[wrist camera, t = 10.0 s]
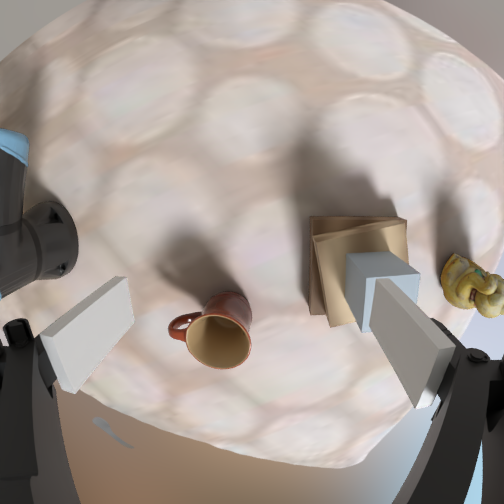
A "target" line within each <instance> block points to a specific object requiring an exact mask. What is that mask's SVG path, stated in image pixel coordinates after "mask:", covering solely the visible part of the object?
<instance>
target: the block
mask: <svg viewBox="0 0 504 504" xmlns="http://www.w3.org/2000/svg"><path fill="white" fill-rule="evenodd" d="M380 278H389V279H390V280H391V281H392V282H394V283H395V284H396V285H397V286H398V287H399V288H400V289H401V290H402V291H403V292H404V293H405V294H406V295H407V296H408V297H409V298H410V299H411V300H412V301H413V302H414V303H415V304H417V297H418V290H419V282H420V273H419V272H418V271H416V270H415V269H414V268H412V267H411V266H410V265H408V264H407V263H406V262H404V261H403V260H401V259H400V258H399V257H397V256H396V255H395V254H393V253H392V252H390V251H384V252H365V253H346V280H345V300H346V302H347V304H348V306H349V308H350V310H351V312H352V314H353V316H354V318H355V320H356V322H357V324H358V326H359V328H360V330H361V332H362V333H366V332H372V330H371V329H370V327H369V321H370V316H371V310H372V303H373V297H374V290H375V282H376V279H380Z"/></svg>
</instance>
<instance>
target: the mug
mask: <svg viewBox="0 0 504 504" xmlns="http://www.w3.org/2000/svg"><path fill="white" fill-rule="evenodd" d="M251 322H252V311H251V308H250V305H249V303H248V301H247V300H246V299H245V298H244V297H243V296H241V295H240V294H238V293H235V292H230V291H225V292H221V293H218V294H216V295H215V296H213V297H212V298H211V299H210V300H209V301H208V302H207V304H206V305H205V308H204V309H203V311H202V312H195V313H190V314H185V315H181V316H179V317H177V318H175V319H174V320H172V321H171V323H170V324H169V326H168V332H169V335H170V336H171V337H172V338H174V339H177V340H181V341H184V342H186V345H187V348H188V350H189V352H190V353H191V354H192V355H193V356H194V357H195V358H196V359H197V360H198V361H199V362H201V363H202V364H204V365H206V366H209V367H212V368H216V369H230V368H234V367H236V366H238V365H240V364H242V363H243V362H244V361H245V360H246V359H247V357H248V356H249V354H250V351H251V339H250V336H249V333H248V332H249V329H250V325H251ZM187 323H190V324H189V326H188V327H187V328H185V329H177V328H179V327H180V326H181V325H183V324H187Z"/></svg>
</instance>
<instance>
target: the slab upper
mask: <svg viewBox="0 0 504 504" xmlns="http://www.w3.org/2000/svg"><path fill="white" fill-rule="evenodd" d="M313 241H314V247H315V252H316V257H317V263H318V268H319V274H320V280H321V285H322V291H323V298H324V304H325V310H326V316H327V319H328V322H329V325H330V328H331V327H335V326H340V325H344V324H348V323H353V322H356V320H355V318H354V316H353V314H352V312H351V310H350V308H349V306H348V304H347V302H346V300H345V280H346V253H365V252H384V251H390V252H392V253H393V254H395V255H396V256H397V257H399V258H400V259H401V260H403V261H404V262H406V263H407V264H408V265H409V261H408V248H407V238H406V228H405V223H403V222H400V221H398V220H395V219H390V220H385V221H380V222H376V223H371V224H366V225H362V226H357V227H352V228H347V229H343V230H338V231H333V232H329V233H324V234H319V235H315V236H313Z"/></svg>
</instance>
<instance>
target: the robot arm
mask: <svg viewBox="0 0 504 504" xmlns="http://www.w3.org/2000/svg"><path fill="white" fill-rule="evenodd" d="M28 153H29V140H28V138H27V137H26V136H25V135H24V134H21V133H18V132H15V131H11V130H7V129H2V128H0V300H1V299H2V298H4V297H6V296H7V295H9V294H11V293H13V292H14V291H16V290H18V289H20V288H22V287H24V286H25V285H27V284H29V283H31V282H33V281H35V280H49V279H58V278H61V277H63V276H64V275H66V274H68V273H69V272H70V271H71V270H72V269H73V267H74V266H75V263H76V261H77V257H78V236H77V231H76V228H75V225H74V222H73V220H72V218H71V216H70V215H69V213H68V212H67V211H66V209H65V208H64V207H63V206H61V205H60V204H58V203H56V202H52V201H49V202H43V203H39V204H37V205H35V206H34V207H32V208H31V209H30V210H28V211H27V212H26V213H24V214H23V199H24V188H25V179H26V171H27V167H28V162H27V161H28ZM134 322H135V320H134V315H133V310H132V305H131V299H130V294H129V288H128V282H127V277H118V276H115V277H114V278H112V279H111V280H110V281H108V282H107V283H105V284H104V285H103V286H101V287H100V288H99V289H97V290H96V291H94V292H93V293H92V294H90V295H89V296H88V297H86V298H85V299H84V300H82V301H81V302H80V303H78V304H77V305H76V306H74V307H73V308H72V309H71V310H69V311H68V312H67V313H65V314H64V315H63V316H61V317H60V318H59V319H58V320H56V321H55V322H54V323H52V324H51V325H50V326H49V327H47V328H46V329H45V330H44V331H42V332H41V333H40V334H39V335H38V336H36V337H35V338H34V337H33V334H32V331H31V328H30V325H29V322H28V320H27V319H23V318H20V319H15V320H12V321H10V322H8V323H7V324H5V325H4V327H3V331H4V333H5V336H6V339H7V341H8V344H9V346H3V345H2V342H1V339H0V504H81V503H80V500H79V497H78V494H77V492H76V488H75V485H74V481H73V478H72V475H71V471H70V467H69V463H68V459H67V455H66V451H65V446H64V441H63V436H62V430H61V425H60V418H59V412H58V406H57V405H58V404H57V396H56V389H55V387H54V385H53V382H54V381H55V380H56V379H57V380H58V382H59V384H60V386H61V388H62V390H65V391H68V392H71V393H74V394H76V392H77V391H78V390H79V388H80V387H81V386H82V385H83V383H84V382H85V381H86V380H87V378H88V377H89V376H90V375H91V373H92V372H93V371H94V370H95V369H96V367H97V366H98V365H99V364H100V362H101V361H102V360H103V359H104V358H105V356H106V355H107V354H108V353H109V352H110V350H111V349H112V348H113V347H114V346H115V344H116V343H117V342H118V341H119V340H120V338H121V337H122V336H123V335H124V334H125V333H126V331H127V330H128V329H129V328H130V327H131V326H132V324H133V323H134ZM369 327H370V329H371V330H372V332H373V334H374V336H375V337H376V339H377V341H378V342H379V344H380V346H381V348H382V349H383V351H384V353H385V355H386V356H387V358H388V360H389V362H390V363H391V365H392V367H393V369H394V371H395V372H396V374H397V376H398V378H399V380H400V382H401V383H402V385H403V387H404V389H405V391H406V393H407V395H408V396H409V398H410V400H411V402H412V404H413V406H414V408H415V409H418V408H423V407H427V406H431V405H432V403H433V401H434V399H435V397H436V395H437V394H438V396H439V397H440V399H441V402H440V404H439V406H438V408H437V410H436V411H435V413H434V415H433V417H432V419H431V420H432V424H431V426H430V429H429V432H428V434H427V436H426V439H425V441H424V443H423V446H422V448H421V450H420V452H419V454H418V456H417V459H416V461H415V463H414V465H413V467H412V469H411V471H410V473H409V475H408V476H407V478H406V480H405V482H404V484H403V486H402V487H401V489H400V491H399V493H398V494H397V496H396V498H395V500H394V501H393V503H392V504H464V501H465V498H466V495H467V492H468V489H469V486H470V483H471V480H472V477H473V473H474V470H475V466H476V462H477V458H478V454H479V450H480V446H481V441H482V452H483V483H482V501H481V504H504V355H503V357H502V360H490V357H489V356H488V355H487V354H486V353H485V352H483V351H482V350H479V349H474V348H468V349H466V348H465V347H464V346H463V345H462V344H461V342H460V341H459V340H458V339H457V338H456V337H455V336H454V335H452V333H451V332H450V331H449V330H447V328H446V327H445V326H444V325H443V324H442V323H441V322H439V321H437V320H435V319H433V318H429V317H428V316H427V315H426V314H425V313H424V312H423V311H422V310H421V309H420V308H419V307H418V306H417V305H416V304H415V303H414V302H413V301H412V300H411V299H410V298H409V297H408V296H407V295H406V294H405V293H404V292H403V291H402V290H401V289H400V288H399V287H398V286H397V285H396V284H395V283H394V282H392V281H391V280H390V279H389V278H380V279H376V282H375V290H374V297H373V303H372V310H371V316H370V321H369Z"/></svg>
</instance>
